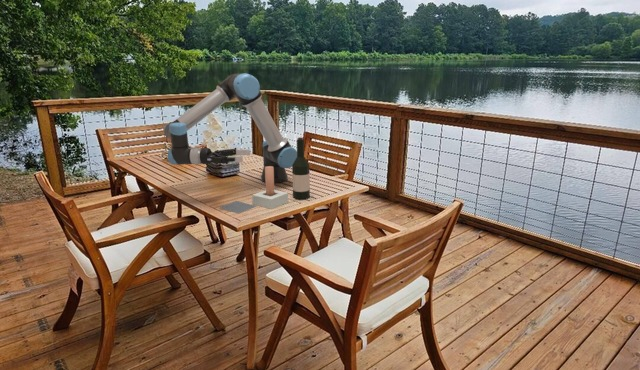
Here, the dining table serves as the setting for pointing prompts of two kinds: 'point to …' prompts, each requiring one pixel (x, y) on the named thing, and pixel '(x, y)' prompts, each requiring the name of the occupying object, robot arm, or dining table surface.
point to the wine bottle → (301, 174)
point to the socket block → (270, 199)
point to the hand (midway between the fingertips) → (246, 155)
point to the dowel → (269, 180)
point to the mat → (237, 207)
